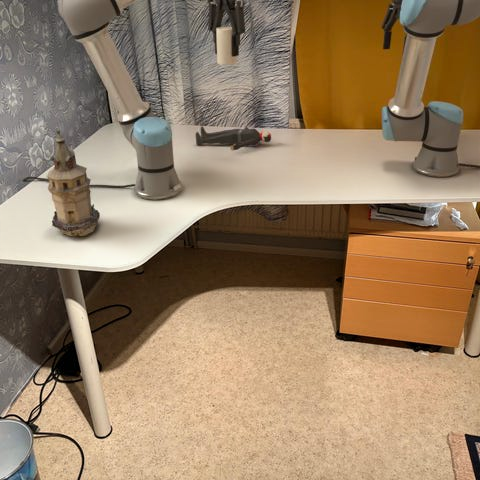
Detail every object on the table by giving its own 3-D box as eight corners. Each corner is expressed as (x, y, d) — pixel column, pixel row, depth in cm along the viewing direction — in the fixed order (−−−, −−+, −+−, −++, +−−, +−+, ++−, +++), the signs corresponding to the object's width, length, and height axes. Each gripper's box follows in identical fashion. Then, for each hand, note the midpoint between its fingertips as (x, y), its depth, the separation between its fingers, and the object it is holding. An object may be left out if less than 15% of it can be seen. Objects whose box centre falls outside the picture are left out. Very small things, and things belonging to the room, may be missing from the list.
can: (233, 60, 186) (233, 26, 180) (239, 64, 180) (239, 28, 175) (214, 61, 184) (213, 27, 178) (220, 65, 178) (219, 29, 173)
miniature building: (80, 214, 164) (63, 117, 149) (111, 225, 157) (96, 125, 142) (44, 231, 154) (22, 130, 140) (75, 244, 147) (55, 139, 133)
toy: (206, 120, 229) (275, 120, 223) (207, 134, 232) (276, 134, 226) (189, 139, 207) (265, 140, 201) (190, 155, 210) (266, 156, 204)
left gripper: (257, -21, 166) (256, 56, 178) (210, -23, 177) (212, 49, 189) (241, -20, 161) (242, 59, 173) (194, -22, 172) (197, 53, 184)
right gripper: (376, -12, 203) (370, 47, 214) (414, -6, 183) (406, 58, 193) (393, -12, 205) (386, 46, 216) (433, -7, 185) (423, 57, 195)
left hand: (226, 54), depth 181 cm, fingers closed on can, 7 cm apart
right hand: (395, 52), depth 204 cm, fingers open, 13 cm apart
